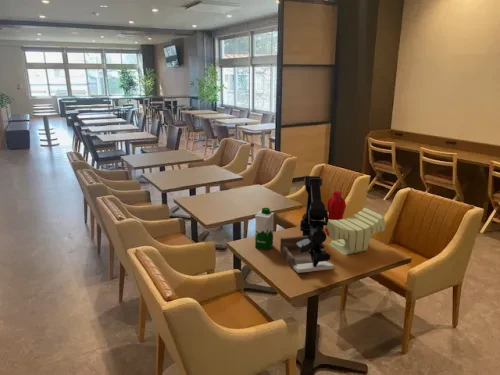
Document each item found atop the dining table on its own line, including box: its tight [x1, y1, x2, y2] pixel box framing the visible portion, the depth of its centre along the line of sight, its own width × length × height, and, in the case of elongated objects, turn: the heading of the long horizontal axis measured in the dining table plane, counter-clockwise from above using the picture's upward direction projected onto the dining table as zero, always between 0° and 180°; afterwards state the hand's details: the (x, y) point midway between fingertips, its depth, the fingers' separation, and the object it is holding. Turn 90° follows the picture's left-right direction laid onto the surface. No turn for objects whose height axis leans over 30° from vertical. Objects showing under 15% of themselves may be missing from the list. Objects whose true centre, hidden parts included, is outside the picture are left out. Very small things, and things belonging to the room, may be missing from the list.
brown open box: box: [279, 235, 329, 269], centre depth 183 cm, size 17×18×8 cm
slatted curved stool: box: [321, 207, 386, 256], centre depth 193 cm, size 30×16×18 cm, turn 113°
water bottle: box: [324, 190, 347, 237], centre depth 209 cm, size 9×11×25 cm
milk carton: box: [254, 207, 275, 251], centre depth 194 cm, size 9×9×20 cm
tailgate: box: [292, 260, 335, 273], centre depth 172 cm, size 2×17×7 cm
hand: (314, 266), depth 170 cm, fingers closed, pressing on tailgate
